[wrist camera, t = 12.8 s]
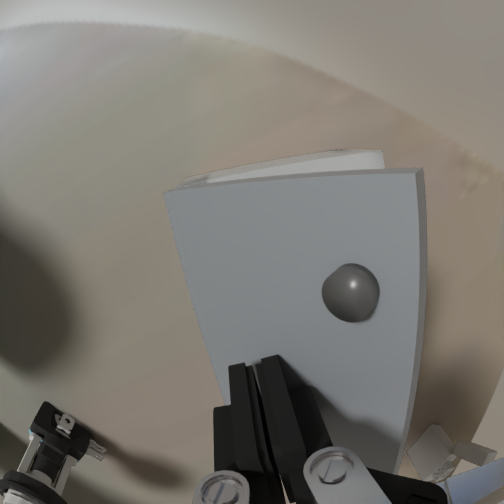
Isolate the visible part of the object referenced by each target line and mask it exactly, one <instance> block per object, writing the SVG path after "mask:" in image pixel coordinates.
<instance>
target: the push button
mask: <svg viewBox="0 0 504 504" xmlns="http://www.w3.org/2000/svg"><path fill="white" fill-rule="evenodd" d="M29 433H30V436H29V439H30V440H31V442H30V444H29V446H28V448H27V450H26V453H25V455H24V457H23V459H22V461H21V463H20V465H19V467H18V469H17V471H14V470H11V471H9V472H8V473H6V474H5V475H4V477H3V479H1V480H0V494H1V495H2V496H3V497H4V498H5V499H4V501H3V504H67V502H66V501H65V500H64V499H62V498H61V495H62V492H63V489H64V486H65V483H66V481H67V478H68V475H69V472H70V469H71V466H75V465H76V463H77V462H78V461H79V460H80V459H81V458H82V457H83V456H84V455H85V454H87V455H88V456H89V455H90V456H92V457H94V458H96V459H98V460H99V461H102V460H103V459H104V457H103V456H101V455H99V454H97V453H96V452H94V451H93V450H92V449H90V448H88V446H89V447H91V448H94V449H96V450H98V451H100V452H101V453H104V452H105V451H106V449H105V448H103V447H101V446H100V445H98V444H96V442H94V441H93V440H91V439H90V438H91V433H90V432H89V431H87V430H86V429H84V428H82V427H81V426H79V425H77V424H76V423H75V420H74V419H73V418H72V417H70V416H68V415H67V414H63V415H62V414H60V413H59V412H57V411H56V410H54V407H53V406H52V405H51V404H50V403H48V402H43V404H42V406H41V407H40V409H39V411H38V413H37V415H36V416H35V418H34V420H33V422H32V425H31V427H30V429H29ZM39 443H40V446H39V449H38V451H37V453H36V455H35V458H34V462H33V464H32V467H31V469H30V471H31V473H26V471H27V469H28V467H29V464H30V462H31V460H32V458H33V456H34V453H35V451H36V449H37V447H38V445H39ZM98 447H99V448H101V449H102V450H100V449H98ZM95 455H97V456H99V457H100V458H98V457H96V456H95ZM65 457H67V458H65ZM64 458H65V459H64ZM63 461H64V462H63ZM62 464H63V465H62ZM61 466H62V467H61ZM60 468H61V470H60ZM59 470H60V473H59V475H58V478H57V481H56V484H55V486H54V488H53V487H52V486H51V484H52V483H54V481H55V478H56V475H57V472H58V471H59Z"/></svg>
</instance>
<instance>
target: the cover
mask: <svg viewBox="0 0 504 504" xmlns="http://www.w3.org/2000/svg"><path fill="white" fill-rule="evenodd" d="M163 194H164V199H165V203H166V207H167V211H168V215H169V219H170V223H171V227H172V231H173V235H174V239H175V243H176V246H177V250H178V254H179V258H180V261H181V265H182V269H183V272H184V276H185V279H186V283H187V286H188V290H189V293H190V297H191V300H192V304H193V307H194V310H195V314H196V317H197V320H198V323H199V327H200V330H201V333H202V336H203V339H204V343H205V346H206V349H207V352H208V355H209V358H210V361H211V364H212V367H213V370H214V373H215V376H216V379H217V382H218V385H219V388H220V391H221V394H222V396H223V399H224V402H225V405H231V401H230V387H229V372H228V366H229V365H234V364H239V363H243V362H245V364H246V366H249V365H252V366H253V370H254V373H255V377H256V380H257V383H258V387H259V390H260V386H259V381H258V376H257V371H256V366H255V364H259V363H261V358H265V357H269V356H273V355H277V357H278V360H279V364H280V367H281V370H282V373H283V377H284V380H285V383H286V387H287V390H288V392H289V391H293V390H297V389H300V388H304V387H308V386H309V387H310V388H311V390H312V393H313V395H314V398H315V400H316V403H317V406H318V408H319V411H320V413H321V416H322V418H323V421H324V423H325V426H326V428H327V431H328V433H329V436H330V438H331V441H332V443H333V446H334V447H335V446H338V447H344V448H347V449H349V450H351V451H353V452H354V453H355V454H356V455H357V456H358V457H359V459H360V460H361V462H362V463H363V464H364V466H365V467H368V468H371V469H375V470H379V471H383V472H387V473H391V474H395V475H398V471H399V468H400V464H401V460H402V457H403V453H404V449H405V445H406V440H407V436H408V432H409V427H410V422H411V417H412V412H413V407H414V402H415V396H416V390H417V384H418V377H419V370H420V363H421V355H422V346H423V336H424V325H425V312H426V295H427V213H426V195H425V182H424V171H423V168H387V169H363V170H343V171H327V172H313V173H300V174H288V175H277V176H266V177H256V178H247V179H238V180H229V181H221V182H213V183H205V184H197V185H190V186H183V187H179V188H175V189H172V190H169V191H166V192H163ZM260 394H261V391H260ZM280 477H281V476H280Z"/></svg>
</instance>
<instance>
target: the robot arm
mask: <svg viewBox="0 0 504 504" xmlns="http://www.w3.org/2000/svg"><path fill="white" fill-rule="evenodd" d="M255 366H256V371H257V376H258V381H259V386H260V390H259V387H258V383H257V380H256V377H255V373H254V370H253V366H252V365H249V366H246V364H245V362H243V363H239V364H234V365H229V366H228V372H229V387H230V401H231V405H226V406H221V407H215V408H214V411H213V424H214V471H215V472H214V473H211V474H208V475H207V476H206V477H204V478H203V479H202V480H201V481H200V482H199V483H198V484H197V487H196V489H195V492H194V497H193V502H192V504H286V502H285V497H284V492H283V487H282V483H281V479H282V482H283V485H284V488H285V491H286V494H287V497H288V499H289V502H290V503H293V502H296V504H504V458H500V459H498V460H495V461H493V462H490V463H488V464H485V465H483V466H480V467H478V468H475V469H472V470H470V471H467V472H464V473H461V474H458V475H455V476H452V477H449V478H446V480H445V481H443V482H440V483H437V484H434V483H431V482H427V481H422V480H417V479H412V478H407V477H403V476H399V475H395V474H391V473H387V472H383V471H379V470H375V469H371V468H368V467H365V466H364V464H363V463H362V462H361V460H360V459H359V457H358V456H357V455H356V454H355V453H354V452H353V451H351V450H349V449H347V448H344V447H338V446H335V447H334V446H333V443H332V441H331V438H330V436H329V433H328V431H327V428H326V426H325V423H324V421H323V418H322V416H321V413H320V411H319V408H318V406H317V403H316V400H315V398H314V395H313V393H312V390H311V388H310V387H309V386H308V387H304V388H300V389H297V390H293V391H289V392H288V390H287V387H286V383H285V380H284V377H283V373H282V370H281V367H280V364H279V360H278V357H277V355H273V356H269V357H265V358H261V363H259V364H255ZM260 391H261V394H260ZM280 476H281V478H280Z"/></svg>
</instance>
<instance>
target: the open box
mask: <svg viewBox="0 0 504 504" xmlns="http://www.w3.org/2000/svg"><path fill="white" fill-rule="evenodd" d="M363 169H385V168H384V160H383V153H382V151H379V150H343V149H340V150H333V151H326V152H319V153H313V154H306V155H300V156H294V157H288V158H282V159H277V160H271V161H266V162H260V163H255V164H250V165H245V166H240V167H235V168H230V169H225V170H220V171H215V172H211V173H206V174H202V175H197V176H193V177H189V178H187V179H186V180H184V181H183V182H182V183H180V184H179V185H178V186H176V187H175V188H179V187H183V186H190V185H197V184H205V183H213V182H221V181H229V180H238V179H247V178H256V177H266V176H277V175H288V174H300V173H313V172H327V171H343V170H363Z"/></svg>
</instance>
